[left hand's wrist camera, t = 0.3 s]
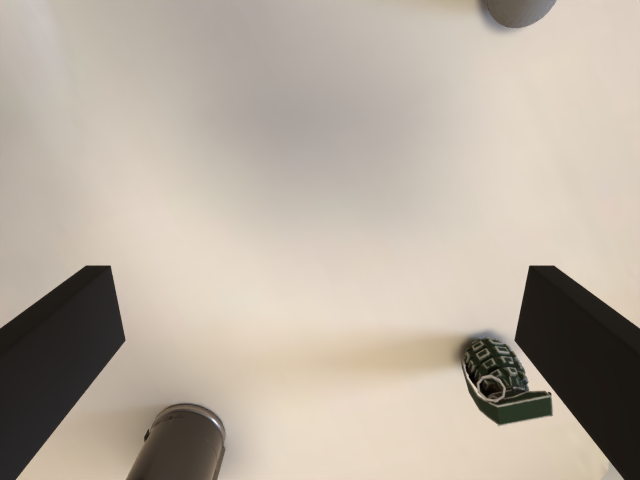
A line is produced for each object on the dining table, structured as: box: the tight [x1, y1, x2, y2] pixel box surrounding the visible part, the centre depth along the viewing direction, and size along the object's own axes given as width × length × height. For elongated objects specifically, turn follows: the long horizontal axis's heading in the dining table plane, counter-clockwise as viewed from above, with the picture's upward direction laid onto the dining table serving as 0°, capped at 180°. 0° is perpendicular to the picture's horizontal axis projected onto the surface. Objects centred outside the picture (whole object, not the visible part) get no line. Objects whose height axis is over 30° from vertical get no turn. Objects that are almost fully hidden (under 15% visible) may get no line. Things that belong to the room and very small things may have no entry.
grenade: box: [460, 337, 553, 426], centre depth 43 cm, size 7×6×10 cm
